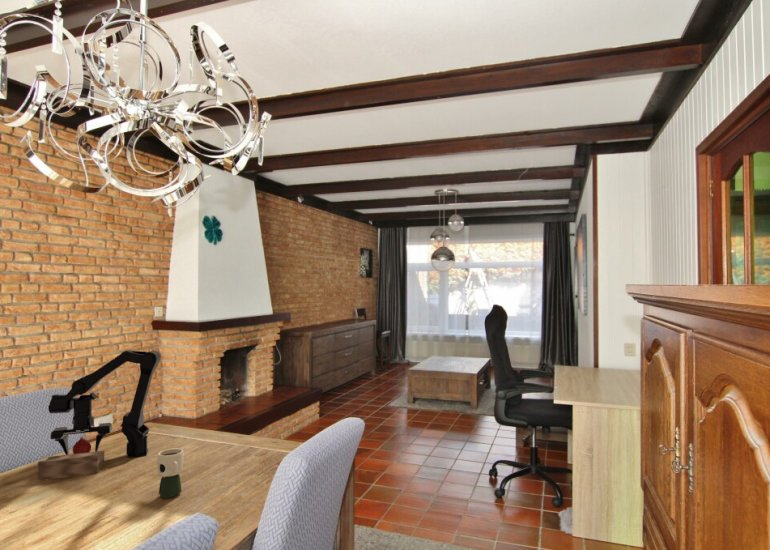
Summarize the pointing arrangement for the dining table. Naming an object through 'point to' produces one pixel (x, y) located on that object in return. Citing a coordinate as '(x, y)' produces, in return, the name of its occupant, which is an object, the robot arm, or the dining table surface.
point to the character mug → (170, 472)
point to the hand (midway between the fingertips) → (81, 453)
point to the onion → (82, 446)
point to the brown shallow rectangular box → (70, 465)
